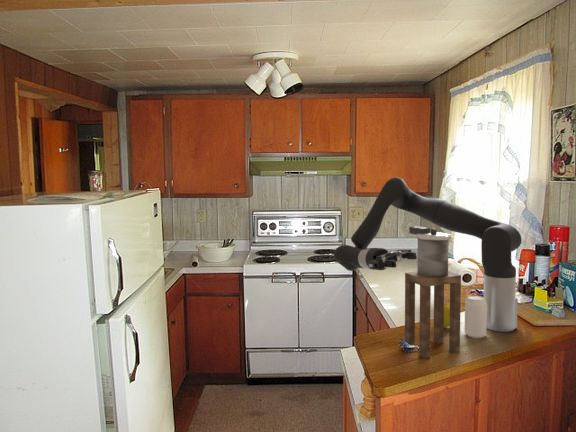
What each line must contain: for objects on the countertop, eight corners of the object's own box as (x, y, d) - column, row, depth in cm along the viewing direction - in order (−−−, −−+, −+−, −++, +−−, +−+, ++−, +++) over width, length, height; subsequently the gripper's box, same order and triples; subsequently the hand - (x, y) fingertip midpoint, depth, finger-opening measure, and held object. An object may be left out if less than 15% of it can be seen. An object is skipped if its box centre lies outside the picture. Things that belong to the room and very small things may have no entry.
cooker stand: (439, 341, 135) (440, 235, 132) (459, 352, 127) (461, 239, 124) (404, 346, 131) (405, 238, 128) (423, 358, 123) (424, 242, 120)
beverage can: (473, 330, 143) (474, 293, 142) (490, 336, 138) (491, 298, 137) (460, 334, 140) (460, 296, 139) (476, 340, 135) (477, 301, 134)
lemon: (455, 331, 143) (456, 307, 142) (437, 330, 144) (437, 306, 143) (453, 325, 148) (453, 301, 147) (435, 324, 149) (435, 301, 149)
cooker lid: (426, 232, 136) (426, 224, 136) (458, 239, 123) (458, 229, 123) (400, 234, 133) (400, 226, 133) (430, 241, 120) (430, 231, 120)
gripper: (354, 254, 152) (385, 254, 138) (386, 242, 158) (419, 241, 144) (360, 275, 153) (391, 278, 138) (392, 263, 159) (424, 264, 144)
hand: (405, 259), depth 141 cm, fingers open, 8 cm apart
